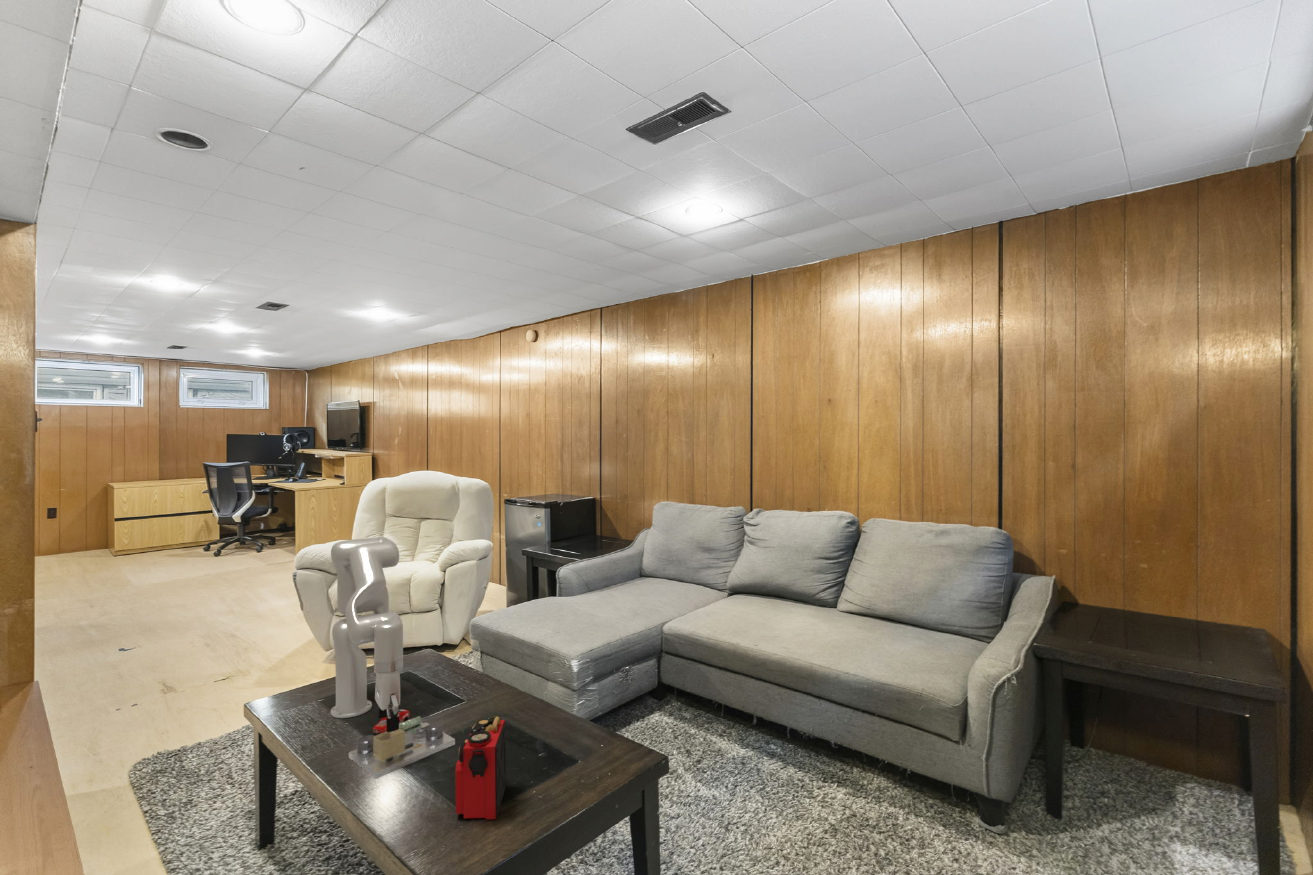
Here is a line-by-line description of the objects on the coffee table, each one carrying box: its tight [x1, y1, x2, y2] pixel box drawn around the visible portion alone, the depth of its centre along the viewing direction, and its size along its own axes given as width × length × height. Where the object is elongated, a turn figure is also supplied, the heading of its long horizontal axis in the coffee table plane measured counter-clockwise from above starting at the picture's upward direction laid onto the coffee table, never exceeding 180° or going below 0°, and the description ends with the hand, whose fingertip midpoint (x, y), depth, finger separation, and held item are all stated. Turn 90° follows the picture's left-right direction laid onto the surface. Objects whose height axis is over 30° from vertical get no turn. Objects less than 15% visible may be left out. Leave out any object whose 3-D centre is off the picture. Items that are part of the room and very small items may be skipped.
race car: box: [372, 709, 411, 735], centre depth 195 cm, size 13×5×4 cm, turn 160°
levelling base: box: [348, 715, 456, 779], centre depth 180 cm, size 17×24×6 cm
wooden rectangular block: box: [373, 728, 413, 761], centre depth 174 cm, size 10×4×7 cm, turn 142°
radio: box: [454, 716, 507, 820], centre depth 153 cm, size 16×10×20 cm, turn 5°
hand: (388, 723), depth 173 cm, fingers open, 9 cm apart
